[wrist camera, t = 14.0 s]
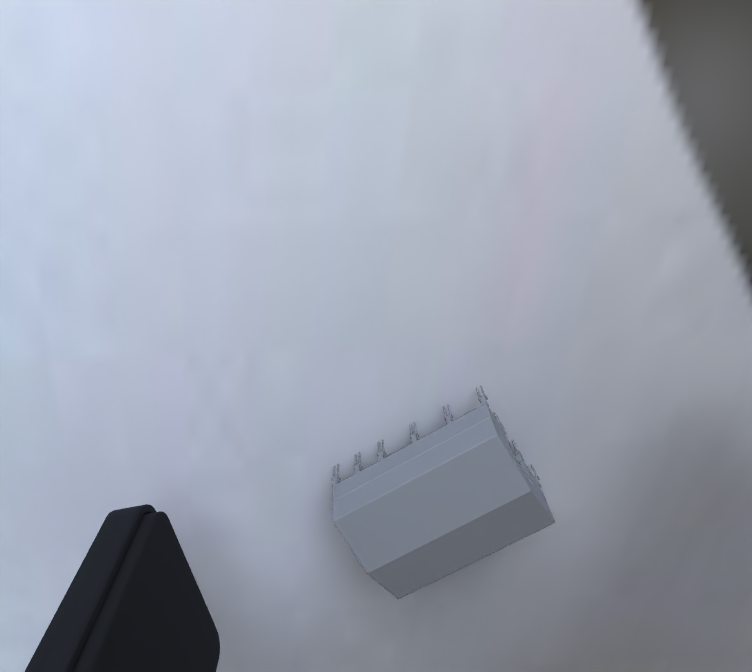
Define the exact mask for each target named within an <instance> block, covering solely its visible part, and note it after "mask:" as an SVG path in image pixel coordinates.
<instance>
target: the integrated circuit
mask: <svg viewBox="0 0 752 672" xmlns="http://www.w3.org/2000/svg"><path fill="white" fill-rule="evenodd" d="M480 387H481V390H482V392H483V396H482V397H480V395H479V392H478V389H477V388H476V390H477V393H478V396H479V398H478V400H479V401H480V403H482V406H480V407H478V408H476V409H474V410H473V411H471V412H469V413H467V414H465V415H463V416H461V417H460V418H458V419H456V420H454V421H453V420H452V418H453V416H452V414H451V412H450V409H449V405H448V404H447V406H448V410H449V414H448V415H447V416H446V412H445V408H444V406H443V410H444V414H445V417H444V419H445V420H446V422H447V425H445V426H443V427H441V428H439V429H437V430H436V431H434V432H432V433H430V434H428V435H426V436H425V437H423V438H421V439H419V440H418V437H419V435H418V433H417V431H416V425H415V422H414V427H415V433H414V434H412V428H411V425H410V430H411V435H410V438H411V439H412V444H410V445H408V446H406V447H404V448H402V449H401V450H399V451H397V452H395V453H393V454H391V455H389V456H388V457H386V458H385V455H386V452H385V451H384V442H383V440H382V445H383V450H382V451H381V452H380V445H379V442H378V449H379V453H377V455H378V457H379V461H378V462H377V463H375V464H373V465H371V466H369V467H367V468H365V469H364V470H362V471H361V468H362V465H361V460H360V452H359V464H357V465H356V455H355V466H353V468H354V469H355V474H354V475H353V476H351V477H349V478H347V479H345V480H343V481H341V482H340V483H339V480H340V479H341V478H340V477H339V464H338V475H337V476H335V466H334V477H333V478H332V481H333V514H332V522H333V523H334V525H335V526H336V528H337V529H338V531H339V532H340V534H341V535H342V537H343V538H344V540H345V541H346V543H347V544H348V546H349V547H350V549H351V550H352V552H353V553H354V555H355V556H356V558H357V559H358V561H359V562H360V564H361V565H362V567H363V568H364V570H365V571H366V573H367V574H368V575H369V576H371V577H372V578H373V579H374V580H376V581H377V582H378V583H379V584H380V585H382V586H383V587H384V588H385V589H387V590H388V591H389V592H390V593H391V594H393V595H394V596H395V597H396V598H398V599H400V598H402V597H404V596H406V595H408V594H410V593H412V592H414V591H416V590H418V589H420V588H422V587H424V586H426V585H428V584H430V583H432V582H435V581H437V580H439V579H441V578H443V577H445V576H447V575H449V574H451V573H453V572H455V571H457V570H459V569H461V568H463V567H465V566H467V565H469V564H471V563H473V562H475V561H477V560H479V559H482V558H484V557H486V556H488V555H490V554H492V553H494V552H496V551H498V550H500V549H502V548H504V547H506V546H508V545H510V544H512V543H514V542H516V541H518V540H520V539H522V538H524V537H527V536H529V535H531V534H533V533H535V532H537V531H539V530H541V529H543V528H545V527H547V526H549V525H551V524H553V523H555V521H554V519H553V516H552V514H551V512H550V509H549V507H548V505H547V502H546V499H545V497H544V494H543V492H542V490H541V485H540V483H539V481H538V480H540V479H539V477H538V476H537V475H536V472H535V470H534V468H533V465H532V464H531V466H532V469H533V471H534V473H535V476H534V477H533V475H532V474H531V472H530V470H529V468H528V467H527V466H526V464H525V462H524V460H523V458H522V455H521V453H520V452H519V450H517V447H516V445H515V443H514V442H513V440H512V443H513V445H514V448H515V450H516V452H514V453H515V455H516V457H517V460H518V462H519V463H520V465H521V466H520V465H519V463H518V462H517V460H516V459H515V457H514V455H513V453H512V450H511V447H510V444H509V442H508V439H507V437H506V433H505V430H504V427H503V426H502V424H501V422H499V419H498V417H497V416H496V414H495V412H494V415H495V417H496V418H495V417H494V415H493V414H492V412H491V410H490V409H489V405H488V403H487V399H488V398H487V397H486V395H485V394H484V391H483V389H482V386H480ZM521 467H522V468H521ZM522 469H523V470H522Z"/></svg>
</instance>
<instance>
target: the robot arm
mask: <svg viewBox="0 0 752 672" xmlns="http://www.w3.org/2000/svg"><path fill="white" fill-rule="evenodd" d="M219 654H220V642H219V635H218V632H217V629H216V627H215V625H214V622H213V620H212V618H211V615H210V613H209V611H208V608H207V606H206V604H205V601H204V599H203V597H202V594H201V592H200V590H199V588H198V585H197V583H196V581H195V578H194V576H193V574H192V571H191V569H190V567H189V564H188V562H187V560H186V557H185V555H184V553H183V550H182V548H181V546H180V544H179V541H178V539H177V537H176V534H175V532H174V530H173V527H172V525H171V523H170V520H169V518H168V516H167V515H166V514H165V513H164V512H156V510H155V509H154V508H153V507H152V506H151V505H147V504H146V505H141V506H136V507H130V508H125V509H119V510H114V511H112V512H110V513H109V514H108V516H107V517H106V519H105V521H104V523H103V525H102V526H101V528H100V530H99V532H98V534H97V536H96V538H95V540H94V542H93V543H92V545H91V547H90V549H89V551H88V553H87V555H86V557H85V559H84V560H83V562H82V564H81V566H80V568H79V570H78V572H77V574H76V576H75V577H74V579H73V581H72V583H71V585H70V587H69V589H68V591H67V593H66V595H65V596H64V598H63V600H62V602H61V604H60V606H59V608H58V610H57V612H56V613H55V615H54V617H53V619H52V621H51V623H50V625H49V627H48V629H47V630H46V632H45V634H44V636H43V638H42V640H41V642H40V644H39V646H38V647H37V649H36V651H35V653H34V655H33V657H32V659H31V661H30V663H29V664H28V666H27V668H26V670H25V672H216V669H217V664H218V660H219Z"/></svg>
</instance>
